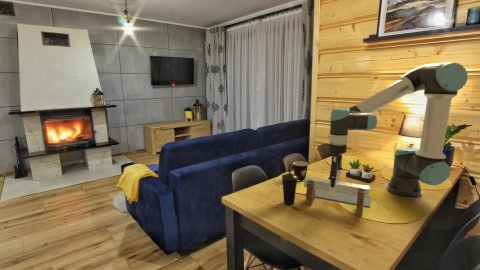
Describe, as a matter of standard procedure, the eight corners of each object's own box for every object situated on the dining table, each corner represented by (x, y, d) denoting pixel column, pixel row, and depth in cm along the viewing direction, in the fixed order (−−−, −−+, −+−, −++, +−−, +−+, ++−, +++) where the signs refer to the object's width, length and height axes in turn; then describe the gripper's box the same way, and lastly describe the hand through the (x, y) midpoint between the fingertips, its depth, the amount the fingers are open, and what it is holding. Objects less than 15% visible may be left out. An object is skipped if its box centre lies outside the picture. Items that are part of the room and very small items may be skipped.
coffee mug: (306, 176, 160) (306, 161, 158) (308, 182, 152) (309, 165, 149) (287, 176, 161) (287, 161, 159) (288, 181, 153) (288, 165, 151)
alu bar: (368, 194, 116) (369, 186, 115) (368, 198, 112) (369, 189, 112) (306, 183, 129) (306, 176, 128) (304, 186, 125) (304, 179, 125)
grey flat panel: (371, 197, 131) (371, 196, 131) (370, 207, 120) (370, 206, 120) (311, 187, 145) (311, 186, 145) (305, 195, 134) (305, 194, 134)
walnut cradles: (363, 208, 120) (365, 185, 118) (361, 216, 113) (363, 192, 111) (310, 197, 131) (310, 177, 129) (306, 204, 124) (306, 183, 122)
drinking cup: (287, 208, 121) (288, 167, 117) (278, 201, 128) (278, 162, 124) (300, 204, 125) (301, 164, 121) (290, 198, 131) (291, 160, 127)
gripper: (333, 137, 128) (330, 177, 133) (323, 148, 107) (321, 196, 111) (349, 138, 125) (346, 180, 129) (343, 150, 103) (339, 200, 108)
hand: (334, 187), depth 120 cm, fingers open, 13 cm apart
